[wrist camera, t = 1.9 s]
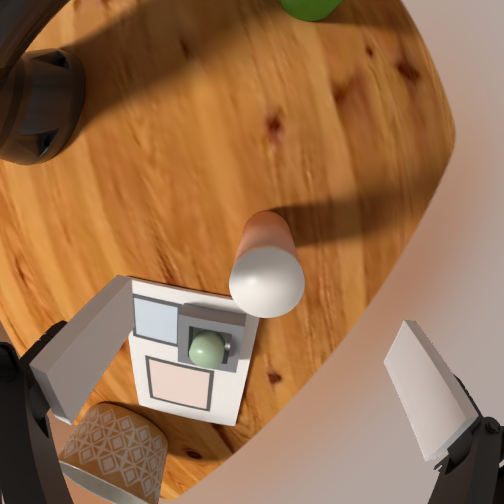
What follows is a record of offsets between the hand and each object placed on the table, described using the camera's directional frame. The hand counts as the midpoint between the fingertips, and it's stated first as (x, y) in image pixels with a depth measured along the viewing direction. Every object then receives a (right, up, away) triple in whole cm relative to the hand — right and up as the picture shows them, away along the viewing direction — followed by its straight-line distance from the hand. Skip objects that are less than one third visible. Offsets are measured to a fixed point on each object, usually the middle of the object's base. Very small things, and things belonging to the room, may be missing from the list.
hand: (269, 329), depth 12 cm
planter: (-25, -31, +30) cm, 50 cm away
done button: (-5, -7, +17) cm, 19 cm away
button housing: (-5, -6, +20) cm, 21 cm away
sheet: (-9, -12, +22) cm, 27 cm away
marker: (+1, +6, +15) cm, 16 cm away
